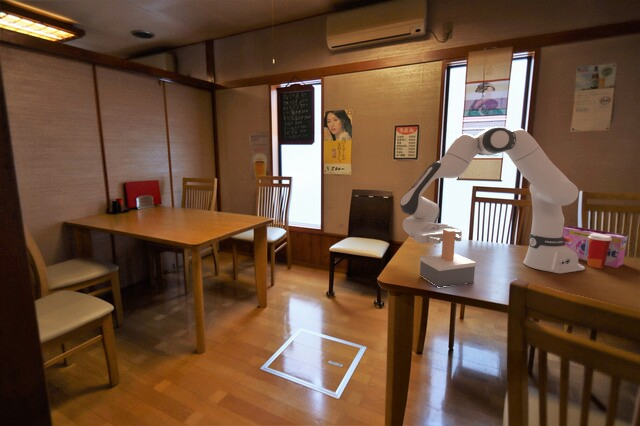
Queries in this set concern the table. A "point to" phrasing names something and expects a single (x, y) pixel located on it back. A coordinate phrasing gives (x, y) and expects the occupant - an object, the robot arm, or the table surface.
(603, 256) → the paper cup
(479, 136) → the robot arm
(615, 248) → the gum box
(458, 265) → the lid
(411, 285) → the table surface
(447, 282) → the parts tub
